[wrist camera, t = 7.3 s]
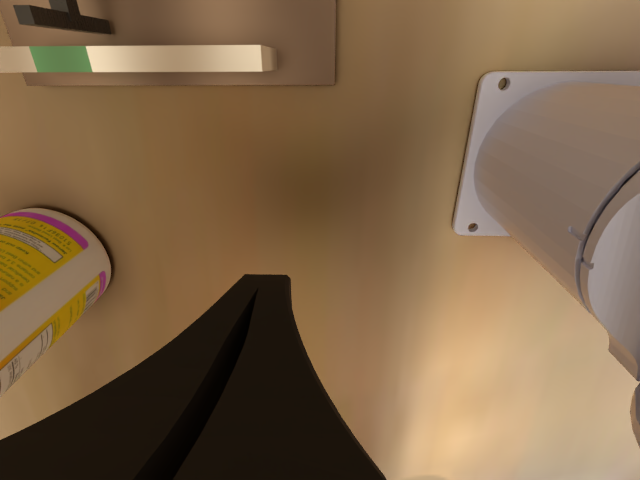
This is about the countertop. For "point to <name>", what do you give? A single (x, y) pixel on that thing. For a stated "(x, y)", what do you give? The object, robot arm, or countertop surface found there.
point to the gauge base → (179, 44)
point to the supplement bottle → (44, 284)
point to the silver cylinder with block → (61, 17)
